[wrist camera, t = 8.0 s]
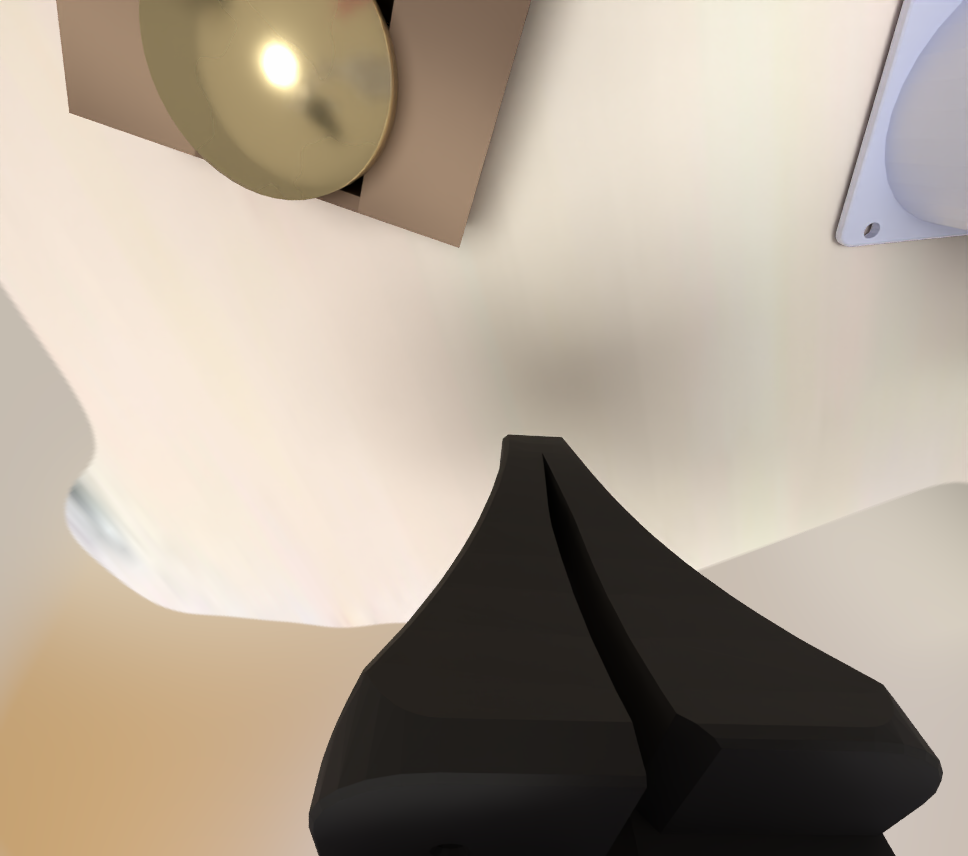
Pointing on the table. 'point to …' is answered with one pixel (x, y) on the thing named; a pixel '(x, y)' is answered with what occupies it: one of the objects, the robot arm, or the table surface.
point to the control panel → (419, 114)
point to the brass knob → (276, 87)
